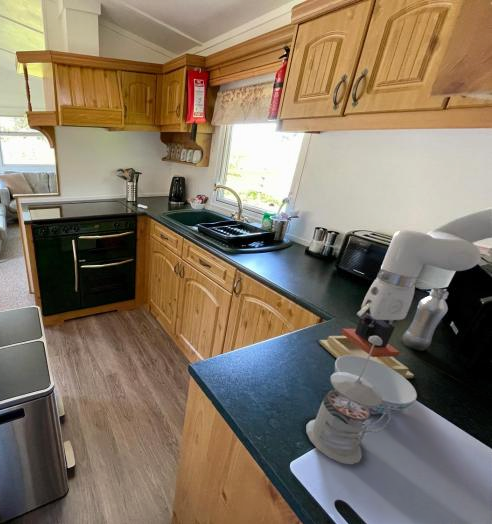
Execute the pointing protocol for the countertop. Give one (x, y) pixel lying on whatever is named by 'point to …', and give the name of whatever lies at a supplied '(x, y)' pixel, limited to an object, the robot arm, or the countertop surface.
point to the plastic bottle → (426, 320)
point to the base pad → (361, 353)
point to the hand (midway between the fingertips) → (371, 336)
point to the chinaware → (380, 382)
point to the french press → (350, 405)
